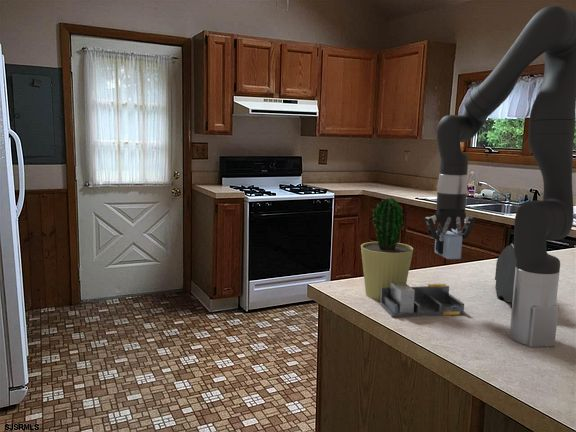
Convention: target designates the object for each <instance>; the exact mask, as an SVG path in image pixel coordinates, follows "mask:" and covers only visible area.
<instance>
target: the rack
mask: <svg viewBox="0 0 576 432" xmlns="http://www.w3.org/2000/svg"><path fill="white" fill-rule="evenodd" d="M379 301H380V304H379V305H380V306H381V307H382V308H383V309H384V310H385V311H386V312H387V313H388V314H389V315H390V316H391V318H404V317H405V318H407V317H408V318H409V317H434V316H437V317H438V316H458V315H459V316H461V315H465V314H464V313H465V312H464V310H465V303H463V302H462V301H461V300H460V299H458V298H457V297H455V296H454V295H452V294H451V293H450V286H449V285H447V284H446V283H428V284H427V285H425V286H424V285H421V286H410V285H409V284H408V283H407V282H406V283H405V282H391V287H387V288H381V300H379Z"/></svg>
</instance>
